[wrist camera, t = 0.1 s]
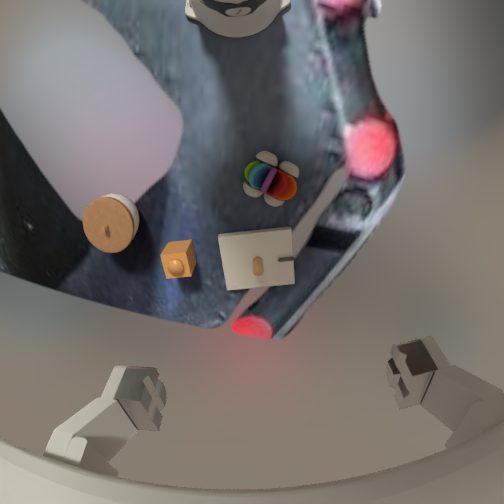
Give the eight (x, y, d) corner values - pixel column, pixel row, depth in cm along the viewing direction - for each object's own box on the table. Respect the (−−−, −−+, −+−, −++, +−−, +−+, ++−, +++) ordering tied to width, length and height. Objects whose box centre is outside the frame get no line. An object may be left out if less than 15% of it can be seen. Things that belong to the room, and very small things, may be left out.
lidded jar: (110, 242, 60) (91, 262, 51) (93, 196, 55) (70, 210, 47) (153, 230, 59) (138, 250, 50) (136, 180, 54) (117, 192, 46)
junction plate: (218, 234, 59) (215, 245, 54) (291, 226, 58) (294, 237, 53) (227, 286, 64) (225, 301, 59) (294, 279, 63) (297, 294, 58)
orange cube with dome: (168, 242, 60) (159, 257, 53) (191, 239, 59) (185, 254, 53) (173, 264, 62) (165, 280, 56) (196, 261, 61) (190, 278, 55)
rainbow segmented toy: (283, 207, 57) (287, 220, 50) (236, 185, 55) (233, 195, 48) (304, 168, 53) (311, 175, 47) (256, 144, 52) (256, 148, 45)
